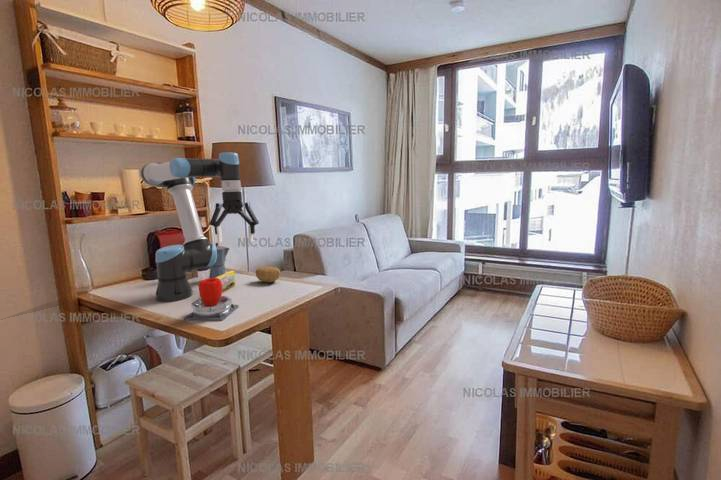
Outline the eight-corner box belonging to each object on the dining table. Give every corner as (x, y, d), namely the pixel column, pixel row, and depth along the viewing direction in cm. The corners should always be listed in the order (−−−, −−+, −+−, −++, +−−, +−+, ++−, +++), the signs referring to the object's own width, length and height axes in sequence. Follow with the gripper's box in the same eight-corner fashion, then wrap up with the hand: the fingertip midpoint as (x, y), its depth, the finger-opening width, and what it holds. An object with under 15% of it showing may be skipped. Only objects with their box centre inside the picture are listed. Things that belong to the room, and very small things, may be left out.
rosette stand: (184, 320, 142) (183, 307, 141) (204, 306, 157) (203, 295, 156) (222, 320, 141) (221, 307, 140) (238, 307, 156) (237, 295, 155)
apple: (220, 308, 144) (217, 281, 143) (196, 309, 144) (194, 282, 142) (226, 300, 153) (224, 275, 151) (204, 301, 152) (202, 276, 151)
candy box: (216, 296, 171) (215, 279, 170) (212, 296, 172) (211, 279, 170) (235, 286, 187) (234, 270, 185) (232, 286, 187) (230, 270, 186)
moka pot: (231, 280, 198) (228, 243, 195) (200, 282, 195) (196, 245, 192) (233, 276, 207) (230, 240, 204) (203, 278, 204) (200, 242, 201)
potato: (263, 278, 201) (262, 264, 199) (285, 280, 195) (284, 266, 193) (251, 283, 192) (250, 268, 191) (273, 285, 186) (272, 270, 185)
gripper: (198, 192, 151) (202, 243, 154) (257, 190, 149) (261, 243, 152) (207, 191, 158) (211, 240, 162) (264, 190, 156) (267, 240, 159)
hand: (235, 241), depth 157 cm, fingers open, 13 cm apart
